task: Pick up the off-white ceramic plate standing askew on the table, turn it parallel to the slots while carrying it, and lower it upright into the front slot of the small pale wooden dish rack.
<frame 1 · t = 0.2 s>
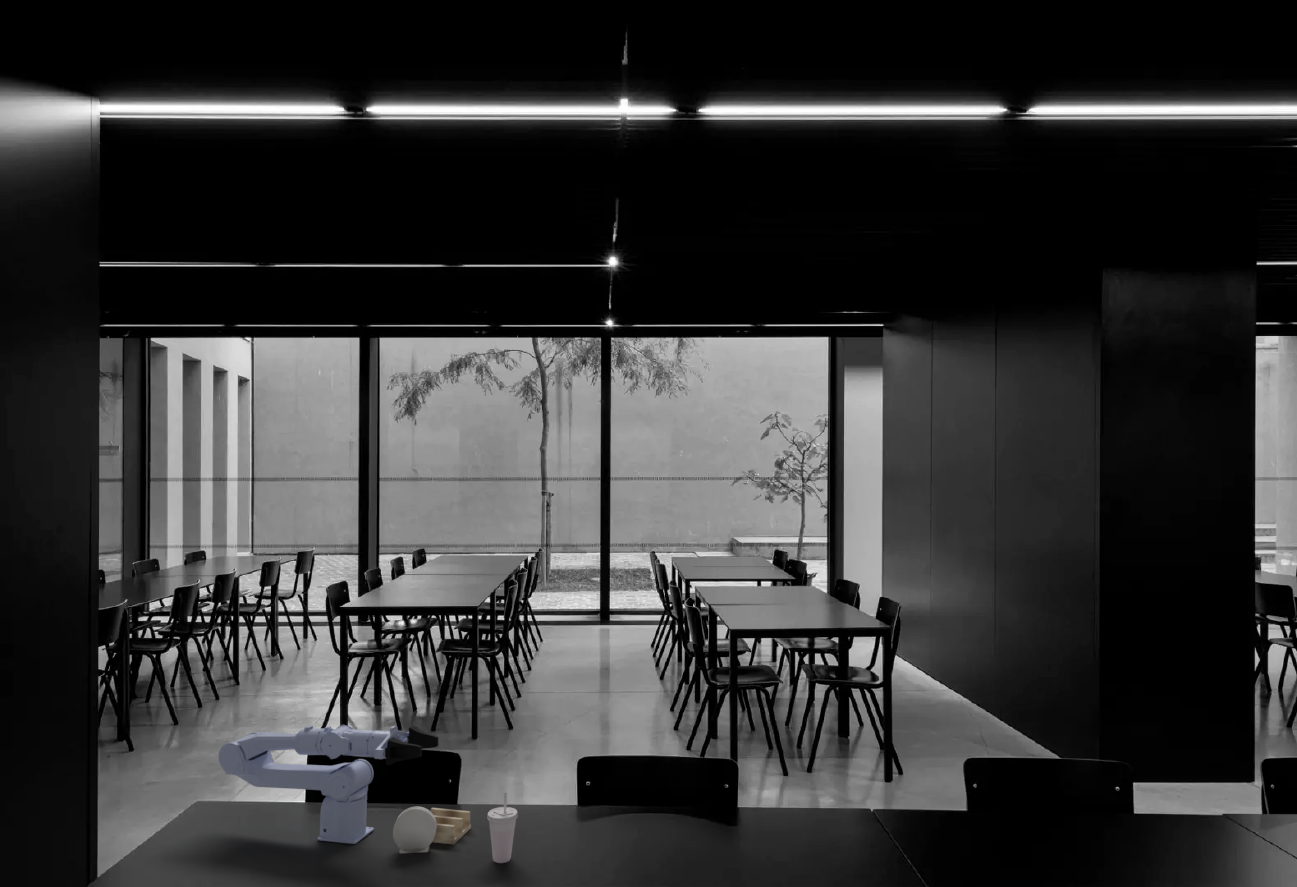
hand: (429, 746, 180), 21 cm above the table, tool horizontal, fingers open, 7 cm apart
rack: (442, 834, 184), on the table
smoothie: (501, 860, 172), on the table
plate: (414, 850, 176), on the table
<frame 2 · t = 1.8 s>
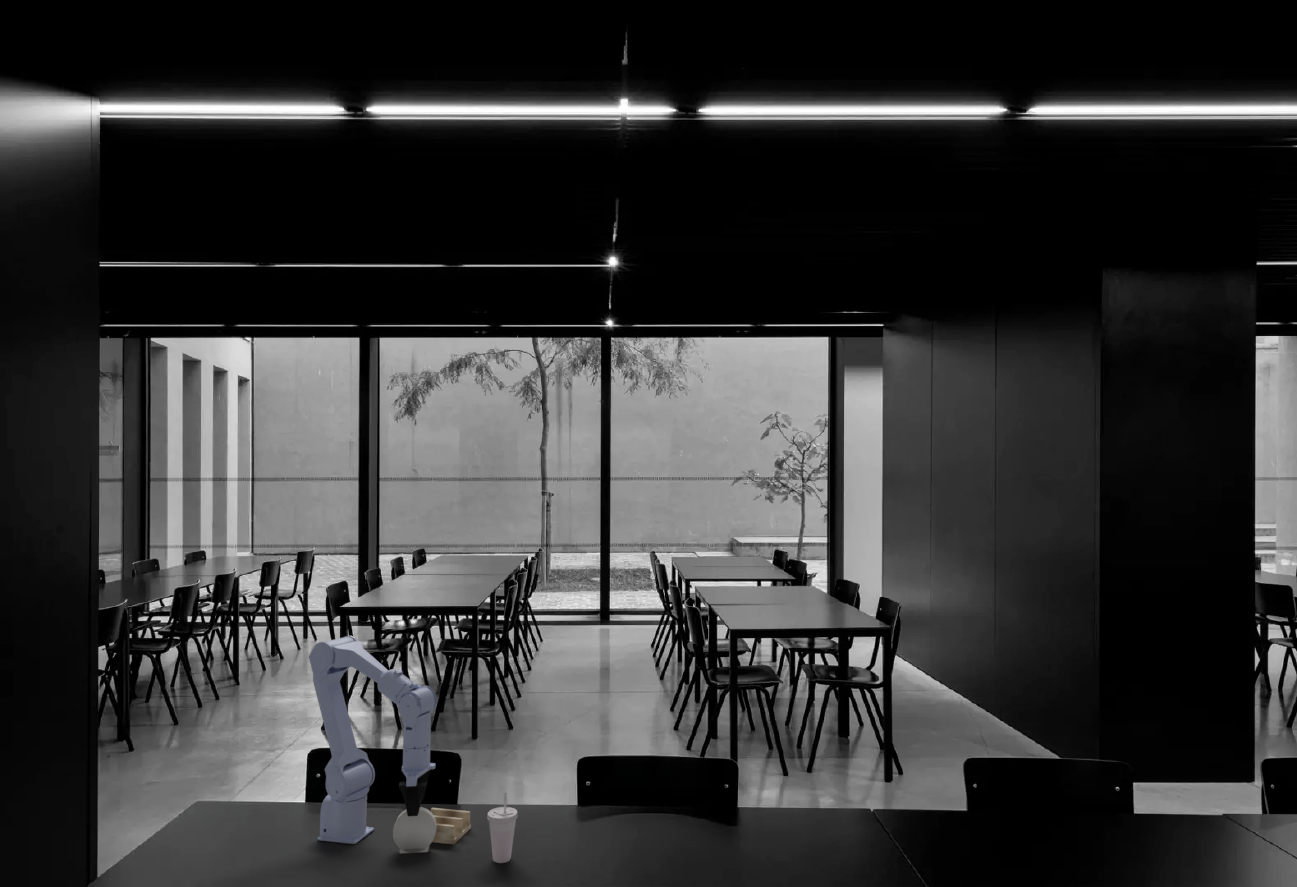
hand: (415, 808, 176), 9 cm above the table, tool pointing down, fingers open, 7 cm apart
nothing on the table moved.
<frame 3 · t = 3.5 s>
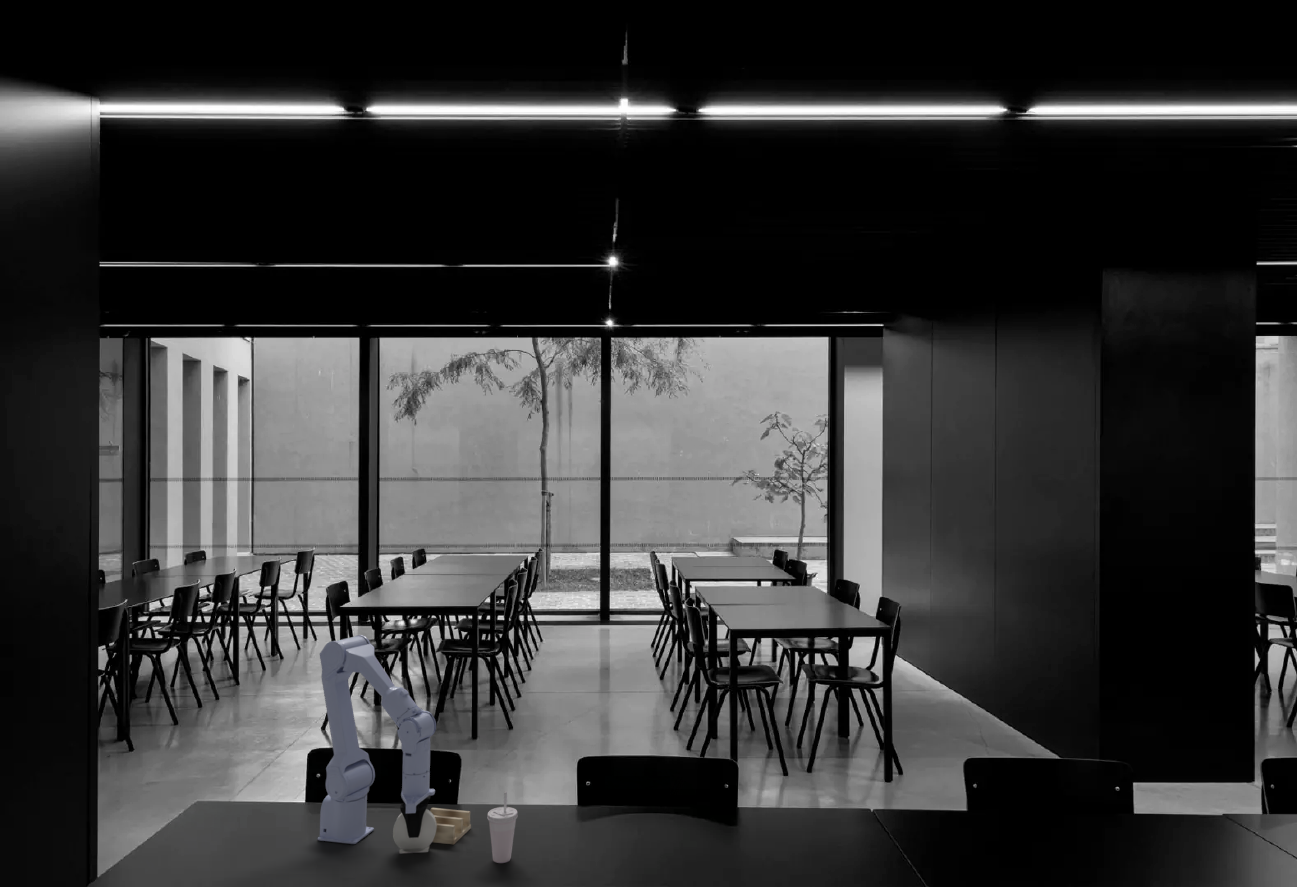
hand: (414, 834, 176), 3 cm above the table, tool pointing down, fingers closed on plate, 2 cm apart
plate: (414, 850, 176), on the table, touching gripper
everything else where it was.
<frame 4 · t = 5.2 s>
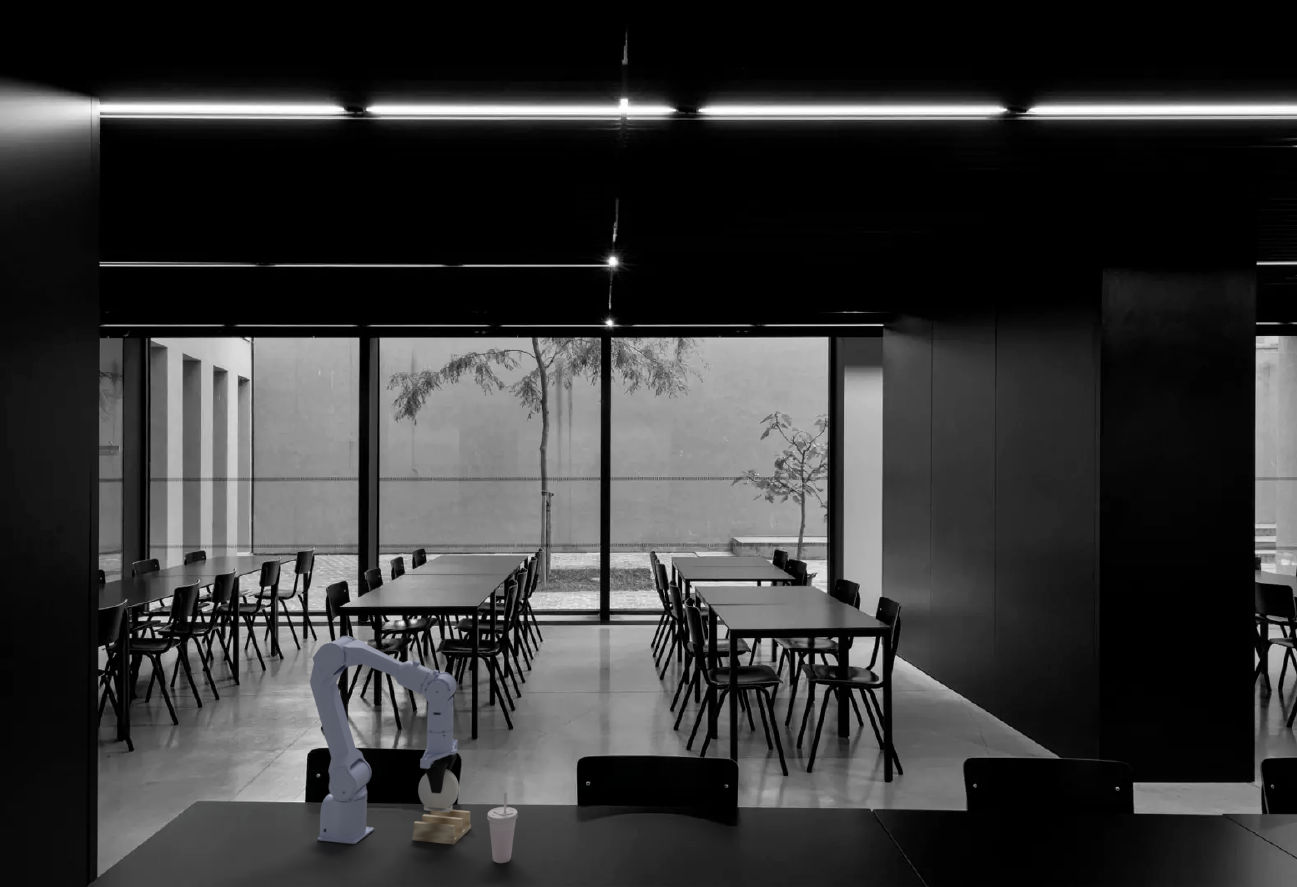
hand: (439, 790, 183), 10 cm above the table, tool pointing down, fingers closed on plate
plate: (438, 809, 183), point 6 cm above the table, touching gripper
everything else where it was.
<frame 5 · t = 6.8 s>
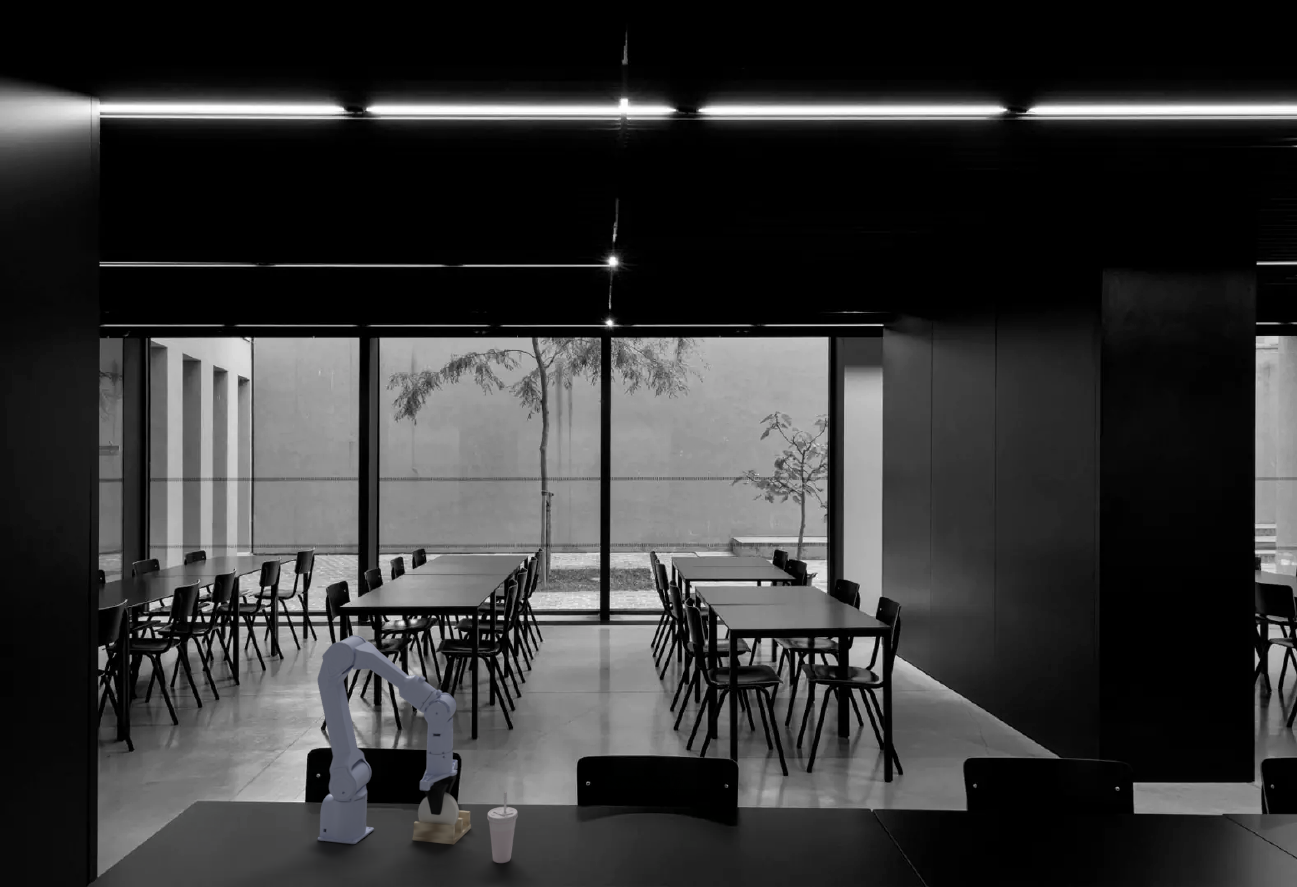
hand: (438, 812, 183), 6 cm above the table, tool pointing down, fingers closed on plate, 2 cm apart
plate: (438, 833, 182), point 1 cm above the table, touching gripper
everything else where it was.
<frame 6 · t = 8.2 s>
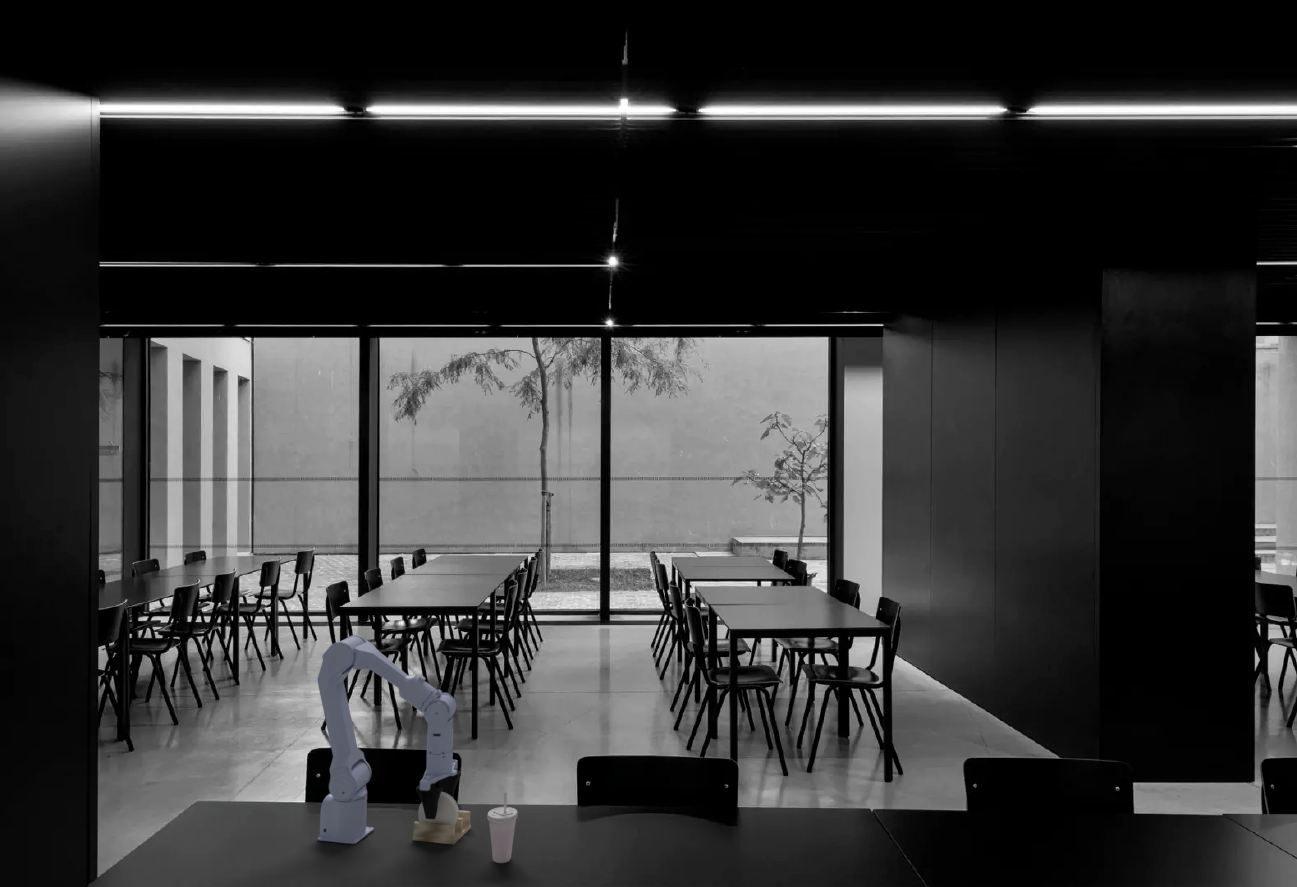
hand: (438, 811, 183), 6 cm above the table, tool pointing down, fingers open, 7 cm apart
plate: (438, 834, 182), point 1 cm above the table, touching rack
everything else where it was.
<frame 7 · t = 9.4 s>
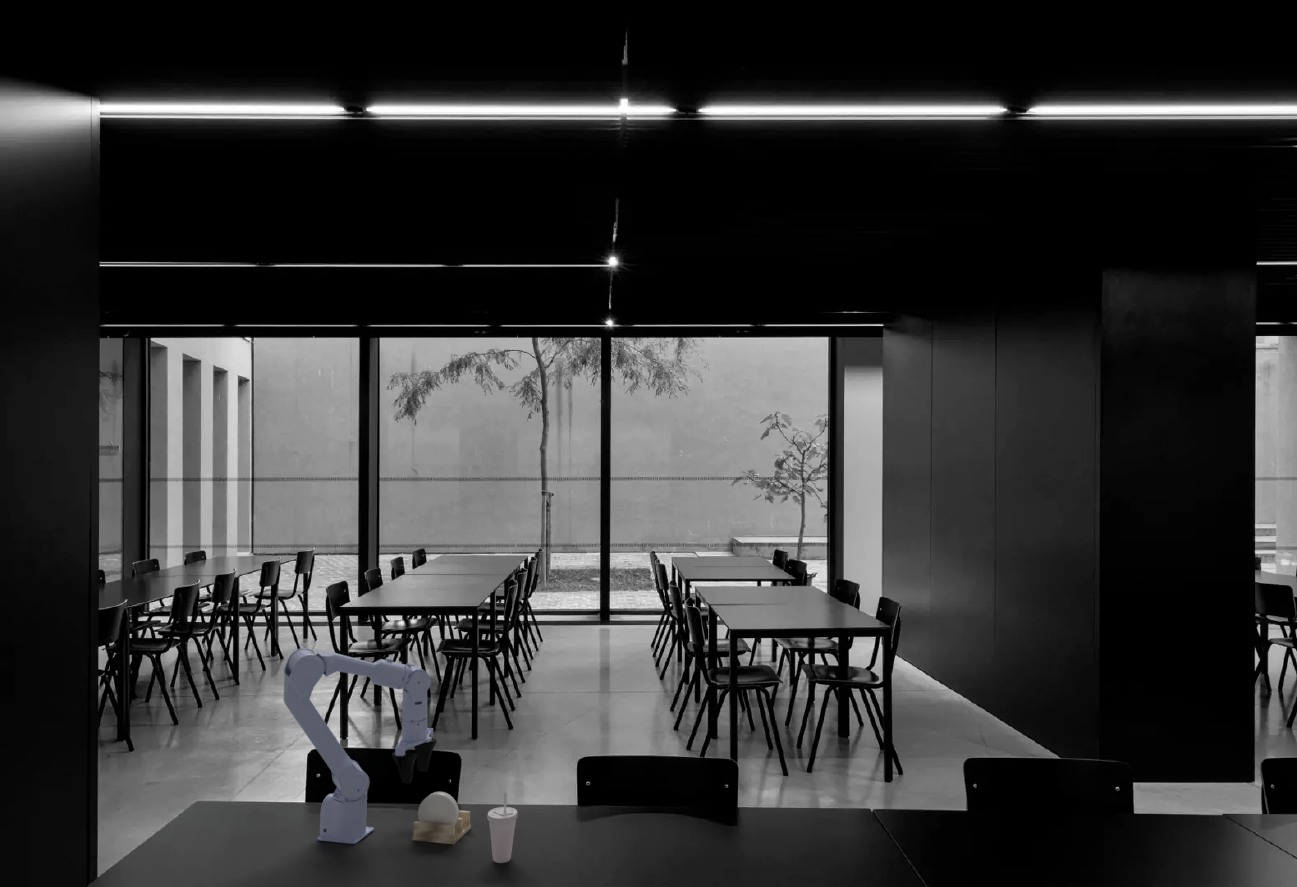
hand: (414, 777, 191), 10 cm above the table, tool pointing down, fingers open, 7 cm apart
nothing on the table moved.
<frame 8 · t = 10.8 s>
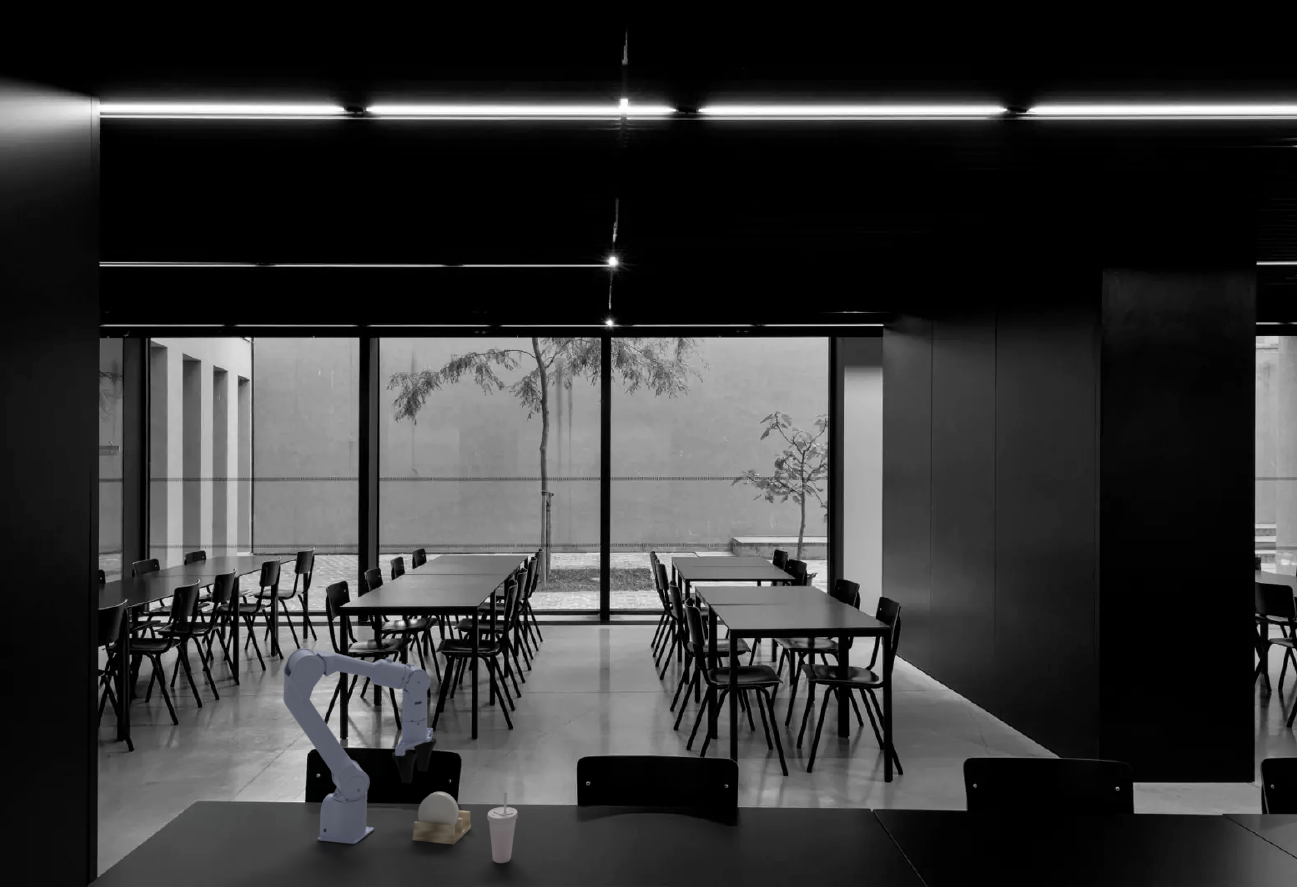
hand: (414, 776, 192), 10 cm above the table, tool pointing down, fingers open, 7 cm apart
nothing on the table moved.
at the end: plate 0.0 cm from the target spot on the rack, point 0.8 cm above the rack's base; plate tilted 0°; the gripper is holding nothing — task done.
